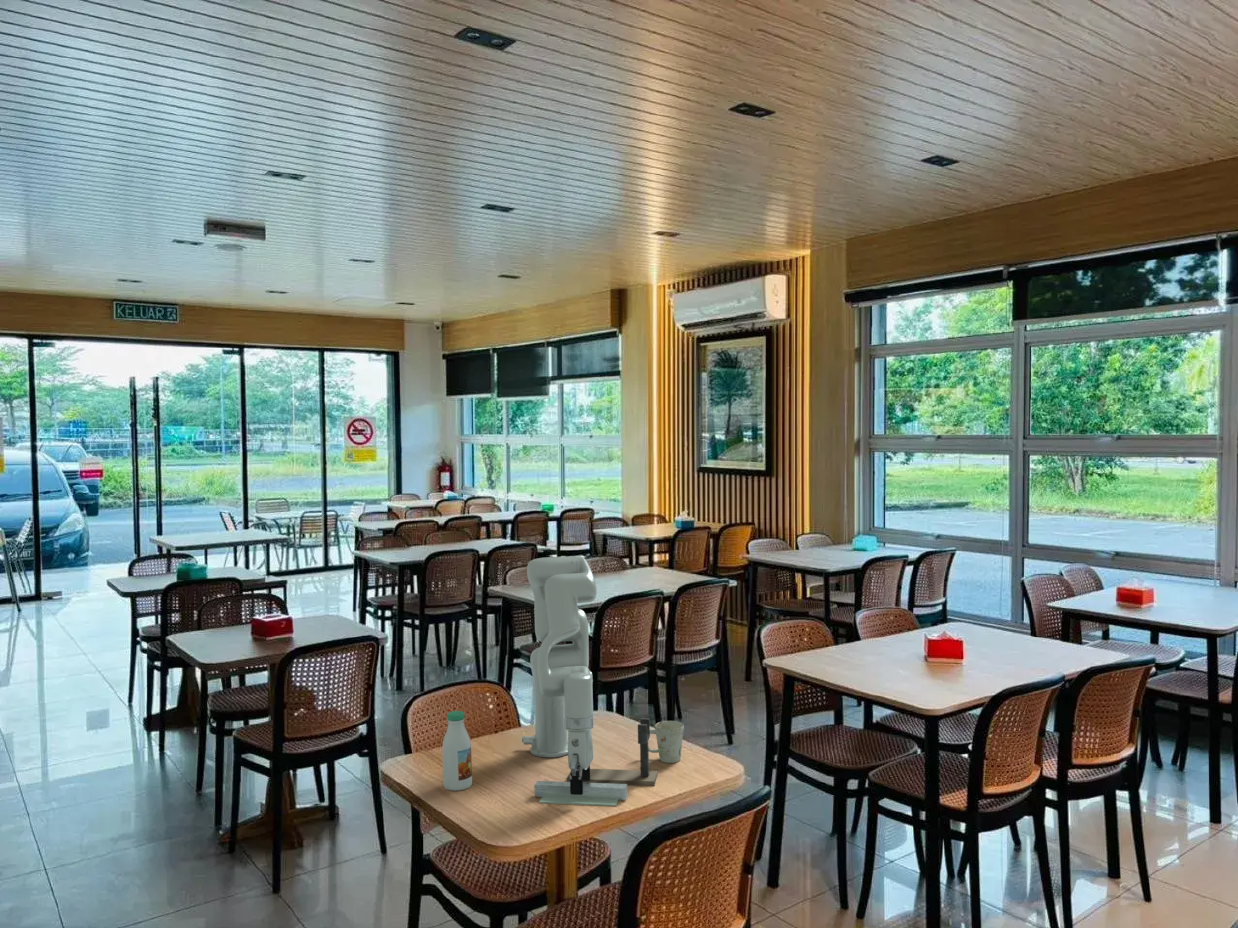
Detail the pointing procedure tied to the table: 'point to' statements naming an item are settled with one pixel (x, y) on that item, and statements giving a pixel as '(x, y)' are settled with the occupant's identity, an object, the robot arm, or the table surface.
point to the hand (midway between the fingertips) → (580, 786)
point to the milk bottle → (456, 754)
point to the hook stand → (629, 776)
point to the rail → (588, 790)
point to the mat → (578, 801)
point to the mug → (668, 740)
